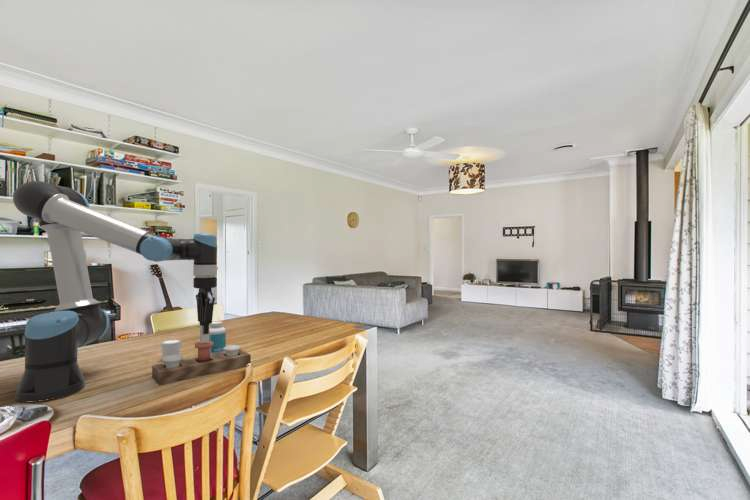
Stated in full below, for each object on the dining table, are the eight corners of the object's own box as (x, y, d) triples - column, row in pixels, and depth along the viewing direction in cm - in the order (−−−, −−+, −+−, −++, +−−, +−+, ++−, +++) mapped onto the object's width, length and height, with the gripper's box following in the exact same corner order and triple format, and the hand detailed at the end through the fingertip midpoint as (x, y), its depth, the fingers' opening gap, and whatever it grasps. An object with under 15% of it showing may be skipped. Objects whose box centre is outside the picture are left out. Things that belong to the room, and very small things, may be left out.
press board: (159, 385, 112) (159, 372, 112) (151, 377, 119) (152, 365, 119) (250, 365, 133) (250, 354, 133) (239, 359, 140) (239, 349, 140)
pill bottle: (229, 353, 148) (229, 321, 149) (219, 358, 141) (220, 324, 141) (212, 352, 149) (212, 320, 149) (201, 357, 142) (202, 323, 142)
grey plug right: (226, 366, 129) (227, 350, 129) (220, 362, 133) (221, 346, 133) (243, 363, 133) (243, 347, 133) (236, 359, 137) (236, 344, 137)
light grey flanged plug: (165, 363, 134) (165, 344, 134) (157, 359, 138) (158, 341, 139) (184, 358, 140) (184, 341, 140) (176, 355, 144) (176, 338, 144)
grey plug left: (164, 379, 115) (165, 361, 115) (160, 374, 119) (160, 357, 119) (184, 375, 119) (185, 357, 119) (179, 370, 123) (180, 353, 123)
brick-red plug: (197, 363, 122) (198, 346, 122) (192, 359, 126) (192, 343, 126) (215, 360, 126) (215, 343, 126) (209, 356, 130) (210, 340, 130)
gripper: (222, 277, 124) (222, 344, 124) (209, 275, 133) (209, 337, 133) (200, 278, 119) (199, 348, 119) (188, 276, 128) (187, 340, 128)
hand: (204, 342), depth 126 cm, fingers closed
